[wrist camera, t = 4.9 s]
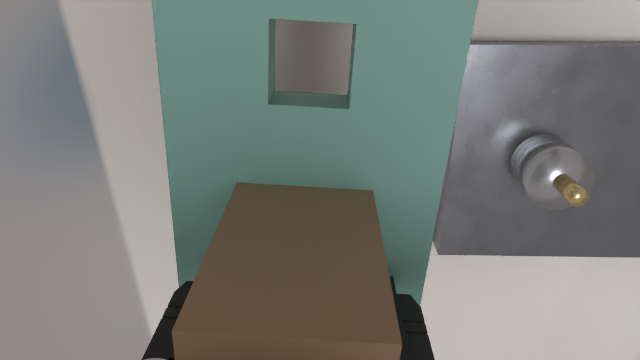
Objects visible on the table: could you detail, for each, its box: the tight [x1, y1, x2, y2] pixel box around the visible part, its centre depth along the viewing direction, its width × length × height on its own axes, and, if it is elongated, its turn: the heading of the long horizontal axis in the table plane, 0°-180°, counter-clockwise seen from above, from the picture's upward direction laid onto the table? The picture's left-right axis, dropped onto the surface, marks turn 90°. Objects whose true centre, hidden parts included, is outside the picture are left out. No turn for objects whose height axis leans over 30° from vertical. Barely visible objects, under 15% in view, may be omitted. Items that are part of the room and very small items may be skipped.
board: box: [152, 0, 478, 360], centre depth 13 cm, size 18×8×8 cm, turn 177°
